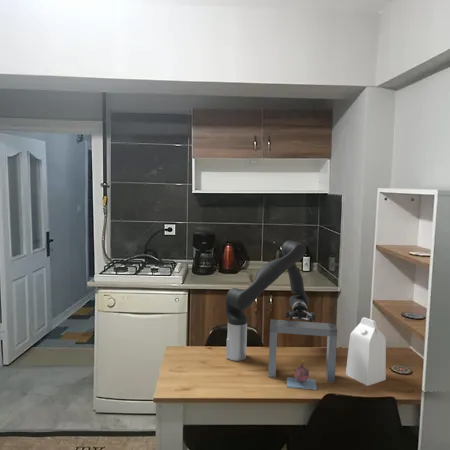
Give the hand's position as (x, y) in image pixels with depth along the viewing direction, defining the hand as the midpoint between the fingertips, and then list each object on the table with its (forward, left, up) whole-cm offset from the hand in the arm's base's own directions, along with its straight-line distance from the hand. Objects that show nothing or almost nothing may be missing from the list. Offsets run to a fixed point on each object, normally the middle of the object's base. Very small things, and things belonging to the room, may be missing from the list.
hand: (300, 319), depth 200 cm
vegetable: (0, -25, -19) cm, 32 cm away
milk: (+28, -13, -20) cm, 37 cm away
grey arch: (0, -17, -20) cm, 26 cm away
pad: (0, -25, -20) cm, 32 cm away
